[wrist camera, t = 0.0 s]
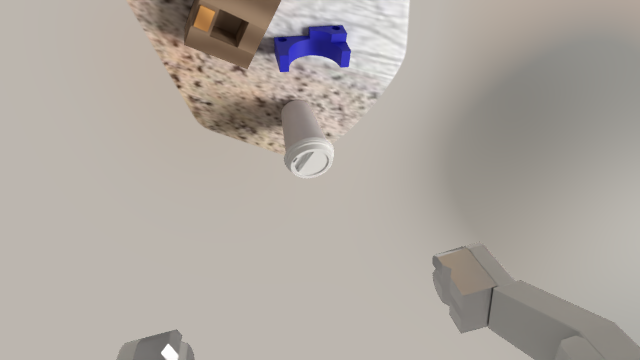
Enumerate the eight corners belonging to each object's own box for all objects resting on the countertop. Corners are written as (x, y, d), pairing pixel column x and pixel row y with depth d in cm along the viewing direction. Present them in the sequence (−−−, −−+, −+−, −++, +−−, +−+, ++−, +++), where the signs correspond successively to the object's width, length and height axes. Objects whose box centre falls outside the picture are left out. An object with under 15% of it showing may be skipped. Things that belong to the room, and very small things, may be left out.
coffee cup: (300, 84, 67) (317, 137, 58) (326, 111, 74) (346, 162, 64) (264, 112, 70) (275, 166, 61) (292, 136, 77) (306, 187, 68)
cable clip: (342, 24, 59) (352, 42, 56) (339, 48, 63) (348, 66, 59) (273, 28, 57) (279, 46, 53) (274, 53, 61) (280, 72, 57)
